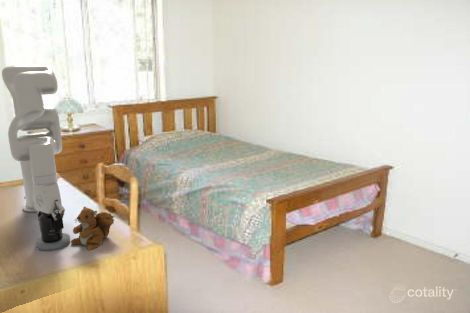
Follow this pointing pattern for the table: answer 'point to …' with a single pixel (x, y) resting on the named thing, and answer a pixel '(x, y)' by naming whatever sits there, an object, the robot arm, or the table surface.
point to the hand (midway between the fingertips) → (51, 226)
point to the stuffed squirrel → (92, 227)
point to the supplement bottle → (49, 228)
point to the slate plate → (53, 244)
